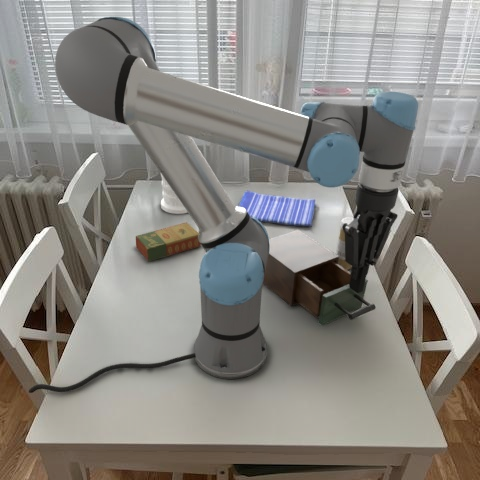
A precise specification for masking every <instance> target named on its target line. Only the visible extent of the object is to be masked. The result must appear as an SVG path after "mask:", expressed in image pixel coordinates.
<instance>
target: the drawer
mask: <svg viewBox="0 0 480 480" xmlns="http://www.w3.org/2000/svg"><path fill="white" fill-rule="evenodd" d="M350 274H351V271H349V269H348V270H346V269H345V268H343V267H342V266H340V265H339V264H337V263H336V262H334V261H332V262H330V263H327V264H324V265H322V266H319V267H316V268H314V269H311V270H308V271H306V272H303V273H300V274H298V275H297V280H296V290H295V299H294V300H296V301H297V302H298V304H299V305H300V306H301V307H303V308H304V309H305V310H307V312H309V313H310V314H312V315H313V316H314V317H315V318H318V324H319V325H320V326H324V325H326V324H328V323H331V322H333V321H335V320H337V319H340V318H342V317H344V316H347V318H348V319H349V320H350V321H352V320H355V319H357V318H359V317H361V316H364V315H365V314H368V313H370V312H372V311H374V310H376V305H375V303H370V302H369V301H367V300H366V299H365V294H366V290H367V285H368V280H367V278H366V279H365V284H364V288H363V291H362V292H360V293H357V292H355V291H354V290H352V289H351V288H350V287H349V284H350V279H351V277H350ZM363 305H364V306H363Z"/></svg>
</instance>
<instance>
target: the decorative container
mask: <svg viewBox="0 0 480 480" xmlns="http://www.w3.org/2000/svg"><path fill="white" fill-rule="evenodd" d="M160 177H161V184H160V185H161V187H162V193H161V195H162V197H163V198H162V199H161V201H160V207H161V210H162V211H164V212H166V213H169V214H174V215H175V214H176V215H181V214H189V213H188V212H187V210H186V209H185V207H184V206H183V204H182V203H181V202H180V200H179V199H178V197H177V196H176V194H175V193H174V191H173V190H172V189H171V187H170V186H169V184H168V183H167V181H166V180H165V178H164V177H163V175H162V174H161V173H160Z"/></svg>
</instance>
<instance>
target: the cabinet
mask: <svg viewBox="0 0 480 480" xmlns="http://www.w3.org/2000/svg"><path fill="white" fill-rule="evenodd" d="M269 244H270V250H269V255H268V260H267V265H266V270H265V275H264V281H263V285H265V286H266V287H267V288H268V289H269V290H271V291H272V292H273V293H274V294H276V296H278V297H279V298H280V299H282V300H283V301H284V302H285V303H286V304H287V305H288V306H290V307H293V306H296V305H298V304H299V303H298V302H297V301H296V300H294V299H295V290H296V280H297V275H298V274H300V273H303V272H306V271H308V270H311V269H314V268H316V267H319V266H322V265H324V264H327V263H330V262H332V261H334V262H336V263H337V264H338V261H339V256H338V255H337V254H336V253H335V252H333V251H332V250H331V249H329V248H328V247H326V246H324V245H323V244H321V243H319V242H318V241H316V240H315V239H314V238H312V237H310V236H309V235H308V234H306V233H304V232H303V231H301V230H300V229H296V230H293V231H289V232H287V233H283V234H280V235H276V236H274V237H271V238H269Z"/></svg>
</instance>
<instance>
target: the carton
mask: <svg viewBox="0 0 480 480" xmlns="http://www.w3.org/2000/svg"><path fill="white" fill-rule="evenodd" d="M198 234H199V231H197V230H196V229H195V227H193V226H192V225H191V224H189V223H188V222H182V223H179V224H175V225H172V226H168V227H164V228H160V229H156V230H153V231H149V232H146V233H142V234H137V235H135V248H136V249H137V250H138V251H139V252H140V253H141V254H142V256H143V257H144V258H145V259H146V260H147V261H148V262H152V261H156V260H159V259H162V258H166V257H170V256H172V255H176V254H179V253H183V252H187V251H188V250H193V249H196V248H199V247H202V245H201V244H200V242H199V241H198Z"/></svg>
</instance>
